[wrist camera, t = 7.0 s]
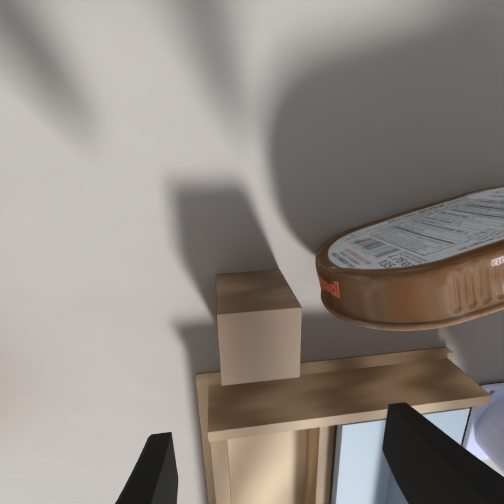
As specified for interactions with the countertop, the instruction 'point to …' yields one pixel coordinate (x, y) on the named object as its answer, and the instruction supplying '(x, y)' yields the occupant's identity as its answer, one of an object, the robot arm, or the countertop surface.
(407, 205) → the countertop surface
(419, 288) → the tin
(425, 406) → the wooden tray
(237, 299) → the block
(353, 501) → the lid
